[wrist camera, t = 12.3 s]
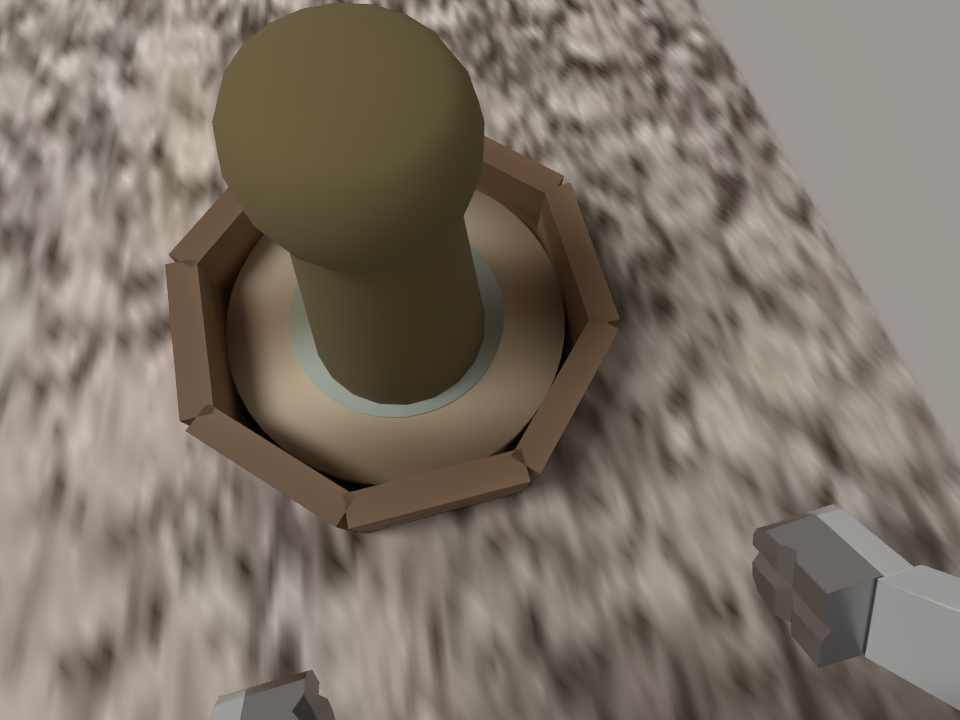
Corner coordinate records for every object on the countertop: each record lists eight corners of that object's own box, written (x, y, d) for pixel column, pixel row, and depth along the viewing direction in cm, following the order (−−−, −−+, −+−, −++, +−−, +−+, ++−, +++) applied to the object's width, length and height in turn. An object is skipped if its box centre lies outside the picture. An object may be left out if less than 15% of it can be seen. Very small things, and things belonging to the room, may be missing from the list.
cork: (316, 415, 19) (143, 241, 9) (310, 255, 21) (164, -44, 11) (496, 394, 19) (539, 205, 9) (474, 240, 21) (489, -62, 11)
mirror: (637, 461, 20) (666, 446, 17) (233, 567, 19) (193, 569, 16) (527, 144, 24) (536, 89, 22) (192, 208, 23) (155, 158, 20)
